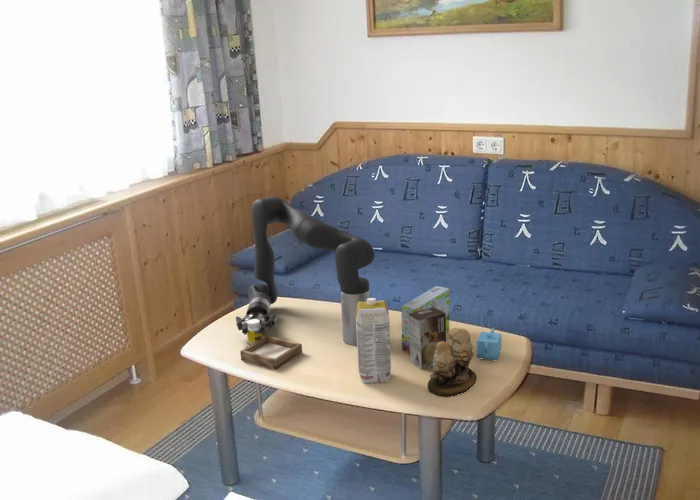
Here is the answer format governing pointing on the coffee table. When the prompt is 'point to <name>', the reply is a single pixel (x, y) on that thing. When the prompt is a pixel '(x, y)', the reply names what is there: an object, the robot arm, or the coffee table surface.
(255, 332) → the supplement bottle
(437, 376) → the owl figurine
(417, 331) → the coffee box
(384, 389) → the coffee table surface
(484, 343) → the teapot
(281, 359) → the walnut tray
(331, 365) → the coffee table surface
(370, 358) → the juice carton
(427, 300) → the snack box
